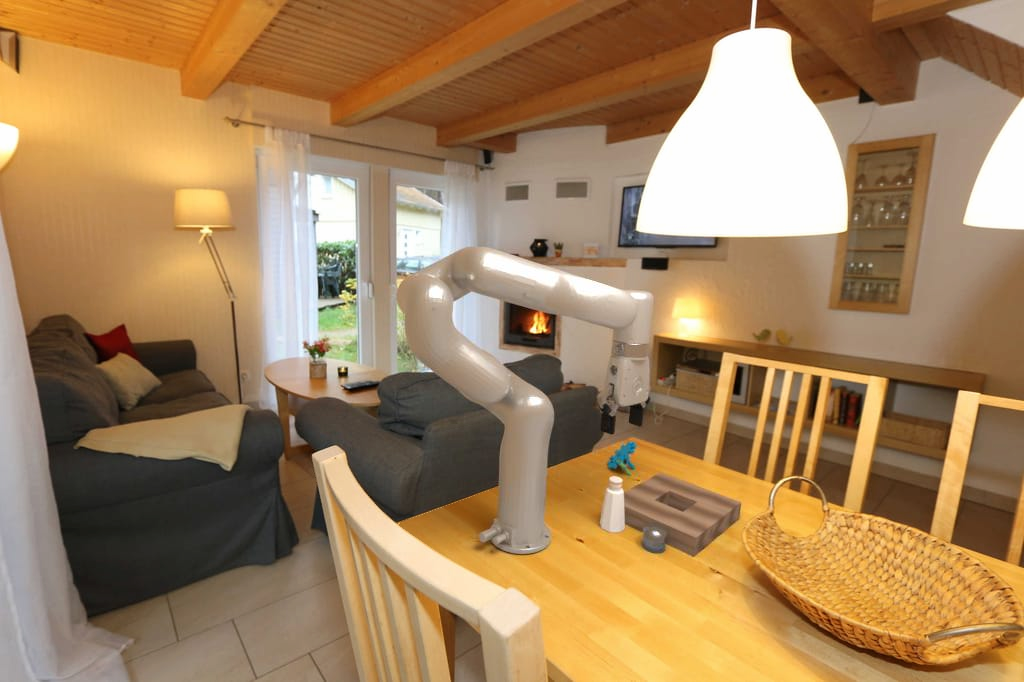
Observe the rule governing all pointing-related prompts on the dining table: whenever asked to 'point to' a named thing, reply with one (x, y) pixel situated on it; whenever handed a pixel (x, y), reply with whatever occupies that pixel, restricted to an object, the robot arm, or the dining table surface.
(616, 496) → the salt shaker
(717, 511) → the socket plate
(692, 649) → the dining table surface
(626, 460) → the blue bumpy figure
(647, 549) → the short stub
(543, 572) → the dining table surface
